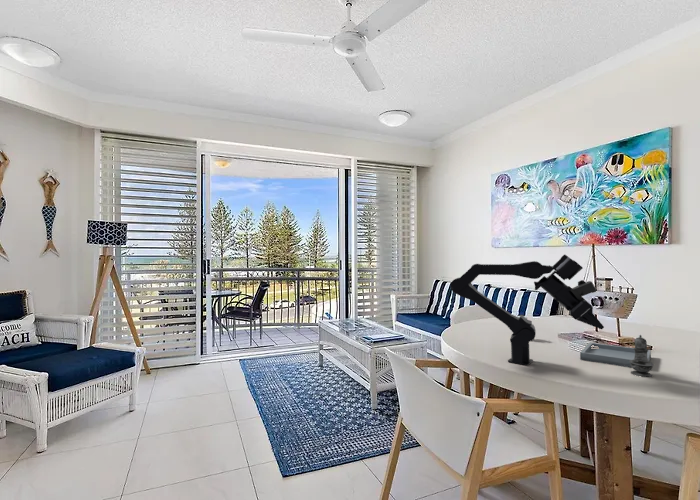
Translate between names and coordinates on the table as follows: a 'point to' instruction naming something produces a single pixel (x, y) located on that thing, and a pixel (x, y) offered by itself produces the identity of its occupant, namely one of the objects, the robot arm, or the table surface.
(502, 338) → the table surface
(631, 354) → the tray
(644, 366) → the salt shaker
